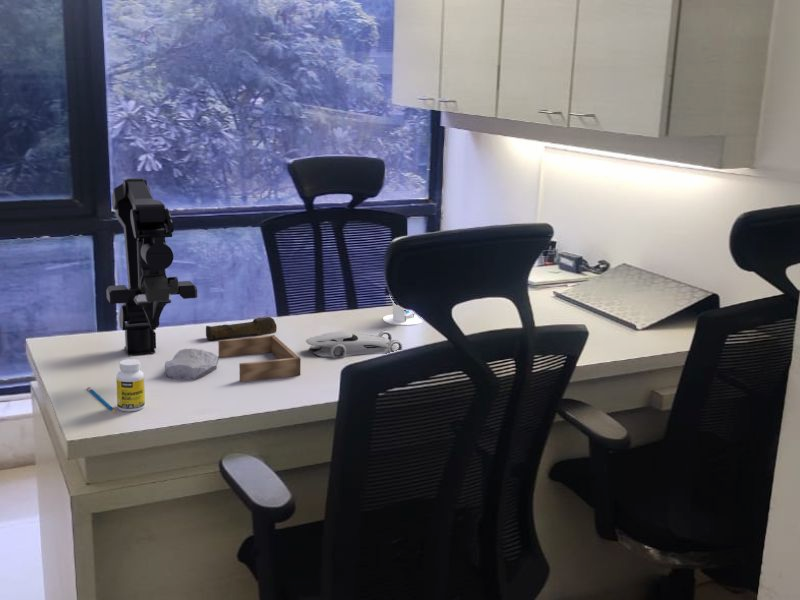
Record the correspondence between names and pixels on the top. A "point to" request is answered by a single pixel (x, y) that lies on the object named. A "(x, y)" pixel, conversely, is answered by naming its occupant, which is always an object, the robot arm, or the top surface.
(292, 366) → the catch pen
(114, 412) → the pencil
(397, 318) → the white upright piece
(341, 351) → the car model
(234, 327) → the brown wooden log
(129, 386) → the supplement bottle
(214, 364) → the stone block
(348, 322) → the top surface
